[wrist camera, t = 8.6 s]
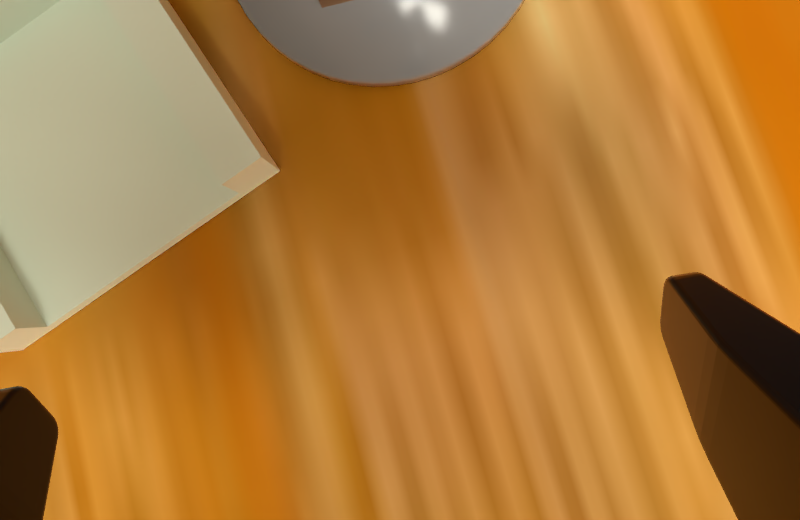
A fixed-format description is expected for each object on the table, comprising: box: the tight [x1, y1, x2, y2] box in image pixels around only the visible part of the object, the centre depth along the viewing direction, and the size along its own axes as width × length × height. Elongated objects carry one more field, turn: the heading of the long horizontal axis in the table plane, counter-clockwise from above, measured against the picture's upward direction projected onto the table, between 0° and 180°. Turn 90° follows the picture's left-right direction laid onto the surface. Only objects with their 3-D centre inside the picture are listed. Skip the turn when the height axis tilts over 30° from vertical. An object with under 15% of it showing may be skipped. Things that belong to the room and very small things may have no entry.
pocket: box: [0, 0, 280, 353], centre depth 21 cm, size 11×11×2 cm
